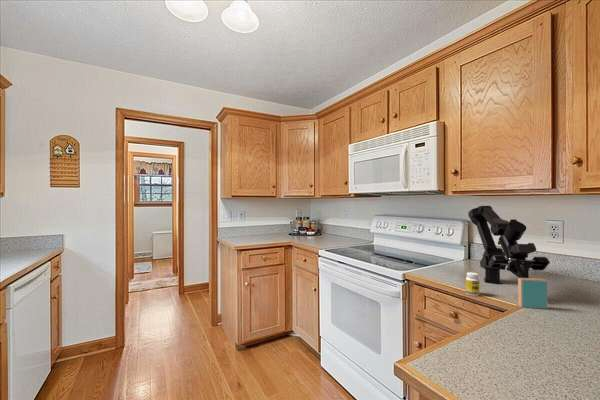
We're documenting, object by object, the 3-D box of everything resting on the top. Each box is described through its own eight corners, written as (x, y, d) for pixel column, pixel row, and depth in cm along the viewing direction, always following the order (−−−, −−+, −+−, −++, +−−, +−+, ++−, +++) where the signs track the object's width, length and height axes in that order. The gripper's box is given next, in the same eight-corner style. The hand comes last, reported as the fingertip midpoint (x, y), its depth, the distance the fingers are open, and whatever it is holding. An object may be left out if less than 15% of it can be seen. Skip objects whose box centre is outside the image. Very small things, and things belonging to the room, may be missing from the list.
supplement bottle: (472, 296, 109) (472, 275, 109) (462, 292, 114) (462, 272, 114) (482, 295, 111) (482, 274, 111) (472, 291, 115) (472, 271, 115)
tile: (518, 305, 100) (518, 277, 100) (543, 306, 99) (543, 278, 99) (521, 307, 98) (521, 279, 98) (548, 309, 96) (547, 280, 96)
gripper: (491, 234, 109) (506, 269, 98) (546, 235, 105) (567, 272, 94) (482, 251, 117) (495, 285, 106) (533, 252, 113) (552, 288, 102)
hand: (526, 282), depth 102 cm, fingers closed
